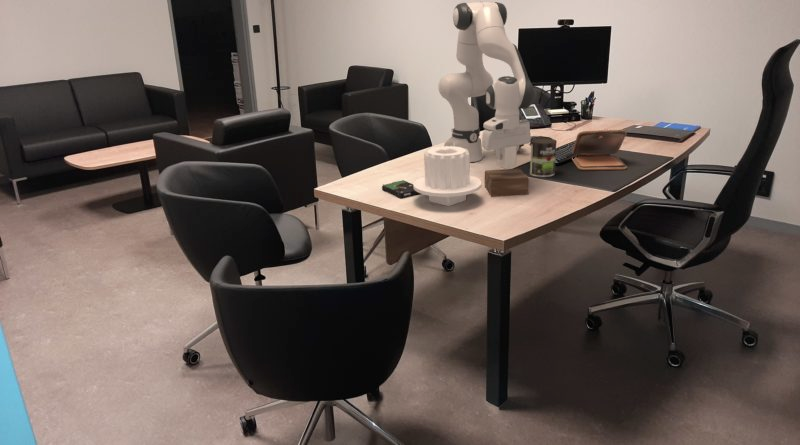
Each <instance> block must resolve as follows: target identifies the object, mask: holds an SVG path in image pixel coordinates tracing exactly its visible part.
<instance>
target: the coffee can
mask: <svg viewBox="0 0 800 445" xmlns="http://www.w3.org/2000/svg"><path fill="white" fill-rule="evenodd" d="M556 152H557V140H556V139H555V138H548V137H538V138H531V141H530V162H529V164H530V165H529V166H530V167H529V175H530V176H533V177H537V178H548V177H549V178H550V177H551V178H552V177H554V176H555V174H556V154H557V153H556Z"/></svg>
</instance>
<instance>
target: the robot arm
mask: <svg viewBox="0 0 800 445" xmlns="http://www.w3.org/2000/svg"><path fill="white" fill-rule="evenodd" d="M452 20H453V25H454V27H455V28H456V29H457V30H459V31H458V35H457V44H456V45H457V46H456V53H455V54H456V60H457V61H458V63H460V64H462V65H463V66H464V67H465V71H464V72H459V73H458V72H457V73H456V72H455V73H450V74H447V75H444V76H442V77H441V78H440V80H439V82H438V91H439V94H440V96H441V97H442V98H443V99H445V100H446V101H447V102H448V104H449V105H450V107H451V109H452V115H453V128H451V132H452V133H451V137H450V138H448V139H447V140H446V141H445V142H444V144H443V147H444V146H453V147H461V148H464V149H467V150H468V152H469V154H470V163H473V162H479V161H481V160H483V158H484V157H485V153H483V149H484V150H485V151H494V153H495V154H496V161H497V160H502V159H503V158H502V157H503V155H501V154H500V152H499V151H500V148H504V147H509V146H516V154H517V153H518V151H519V150H520V149H519V145H522V144H524V145H528V144H530V143H531V140H532V134H531V129H530V126H531V124H530V123H531V122H530V121H529V120H528V119H527V118H525V119H520V110H522V109H524V110H527V109H528V108H529V107H531V106H532V104H534V102H535V99H536V92H535V89H534V86H533V84H532V82H531V80H530V77H529V76H528V73H527V70H526V68H525V65H524V62H523V58H522V56H521V53H520V51H519V49H518V46H517V45H516V44H514V43H513V42H512V41H510V39H509V38H508V36H507V34H506V29H505V25H506V23H507V20H508V11H507V7H506V5H505V4H504V3H502V2H496V1H495V2H493V1H476V2H475V1H474V2H460V3H459V4H457V5H456V6H455V7H454V9H453V13H452ZM483 54H484V55H483ZM483 56H487V57H489V58H491V59H495V60H499V61H501V62H504V63H506V64H508V66H509V67H510V69H511V72H512V74H513V76H509V75H507V76H505V75H504V76H501V77H499V78H497V80H496V82H495V83H494V79H493V77H492V75H491V74H490V72H488V71H487V70H486V68H485V66H484V62H483ZM481 96H485V104H486V105H487V107H489V108H490V109H492V110H495V113H494V117H492V118H490V119H488V120H486V121H484V123H483V129H484V130H483V131H482V135H481V136H482V137H481V138H480V134H481V132H480V131H481V130H480V126H479V125H480V122H479V121H480V120H479V119H480V118H479V111H478V109H477V108H476V107H475V106H472V105H470V103H469V100H468V98H477V97H481ZM518 149H519V150H518Z"/></svg>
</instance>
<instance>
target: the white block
mask: <svg viewBox="0 0 800 445" xmlns="http://www.w3.org/2000/svg"><path fill="white" fill-rule="evenodd" d="M499 152H500V154H501V155H503V157H502V158H503V159H502V160H497V159H496V161H497V162H496V163H497V164H496V165H497V167H499V168H503V169H512V168H516V167H517V153H516V146H509V147H504V148H500V151H499Z"/></svg>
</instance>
